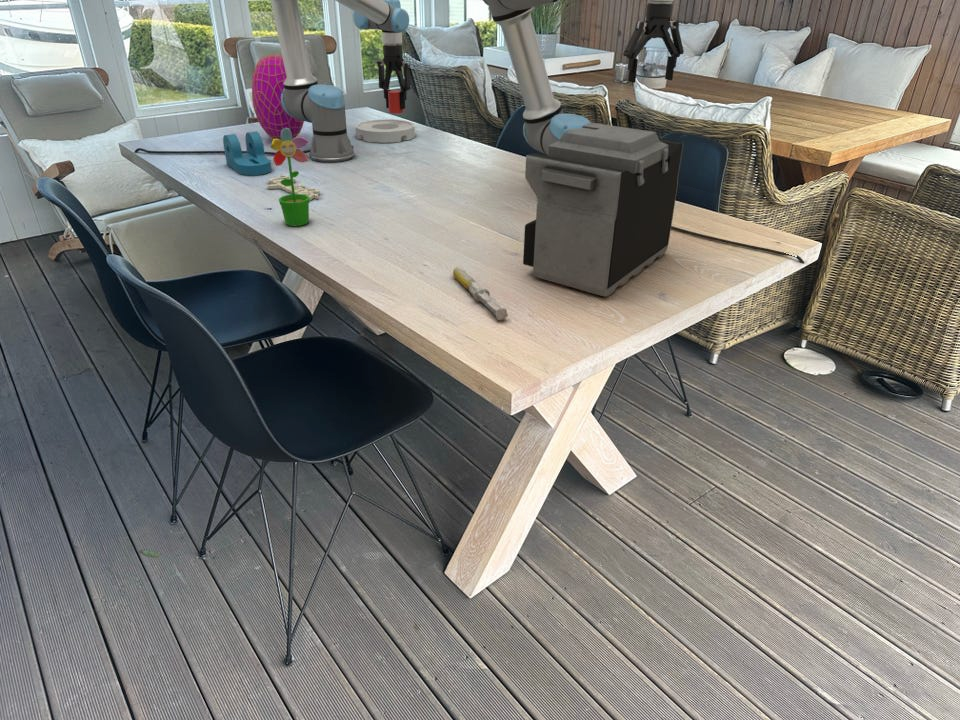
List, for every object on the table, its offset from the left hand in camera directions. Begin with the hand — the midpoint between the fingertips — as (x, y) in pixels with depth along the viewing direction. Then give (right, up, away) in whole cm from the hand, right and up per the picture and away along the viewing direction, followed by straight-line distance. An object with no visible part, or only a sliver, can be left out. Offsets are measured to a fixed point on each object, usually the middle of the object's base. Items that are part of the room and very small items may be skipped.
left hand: (395, 108), depth 272 cm
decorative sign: (-24, -48, -63) cm, 83 cm away
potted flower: (-15, -63, -89) cm, 110 cm away
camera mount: (-43, -36, -43) cm, 71 cm away
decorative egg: (-42, -15, -8) cm, 45 cm away
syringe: (+33, -87, -127) cm, 158 cm away
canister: (0, -1, +1) cm, 2 cm away
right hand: (+86, -15, -63) cm, 107 cm away
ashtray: (-4, -11, 0) cm, 12 cm away
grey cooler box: (+61, -78, -111) cm, 149 cm away
